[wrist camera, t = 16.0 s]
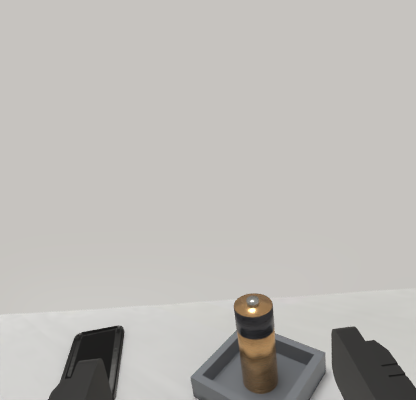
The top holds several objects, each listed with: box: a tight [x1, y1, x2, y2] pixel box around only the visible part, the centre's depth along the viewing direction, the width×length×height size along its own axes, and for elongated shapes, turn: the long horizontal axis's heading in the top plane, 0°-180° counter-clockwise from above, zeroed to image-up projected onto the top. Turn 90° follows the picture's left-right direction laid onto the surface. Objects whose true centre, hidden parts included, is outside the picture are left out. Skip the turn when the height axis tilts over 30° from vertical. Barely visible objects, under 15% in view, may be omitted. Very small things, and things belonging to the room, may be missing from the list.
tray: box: [191, 330, 326, 400], centre depth 45 cm, size 12×12×3 cm
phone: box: [60, 326, 124, 400], centre depth 52 cm, size 8×1×15 cm
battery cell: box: [234, 294, 278, 394], centre depth 43 cm, size 4×4×12 cm
